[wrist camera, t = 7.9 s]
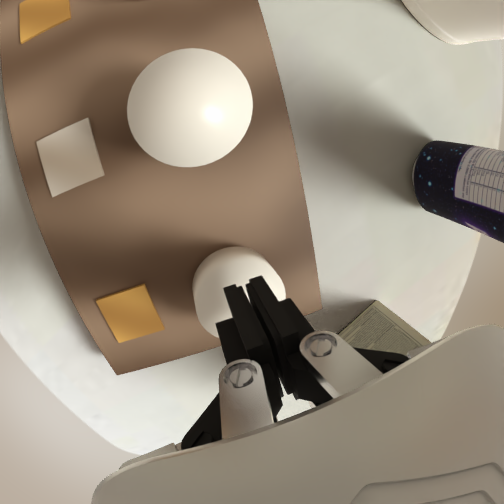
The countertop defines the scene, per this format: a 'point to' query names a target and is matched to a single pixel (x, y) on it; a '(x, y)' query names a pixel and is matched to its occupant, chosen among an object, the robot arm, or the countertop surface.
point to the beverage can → (462, 185)
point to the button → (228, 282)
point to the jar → (460, 19)
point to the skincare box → (382, 331)
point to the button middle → (189, 107)
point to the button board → (147, 167)
